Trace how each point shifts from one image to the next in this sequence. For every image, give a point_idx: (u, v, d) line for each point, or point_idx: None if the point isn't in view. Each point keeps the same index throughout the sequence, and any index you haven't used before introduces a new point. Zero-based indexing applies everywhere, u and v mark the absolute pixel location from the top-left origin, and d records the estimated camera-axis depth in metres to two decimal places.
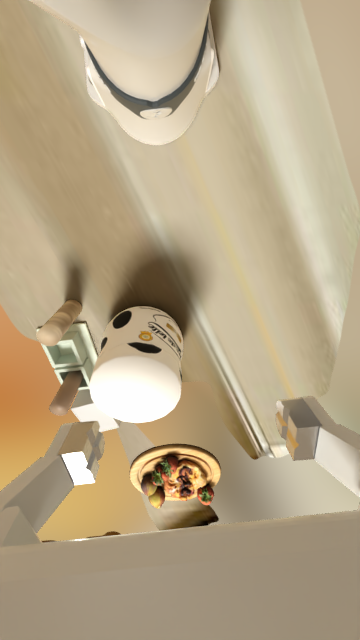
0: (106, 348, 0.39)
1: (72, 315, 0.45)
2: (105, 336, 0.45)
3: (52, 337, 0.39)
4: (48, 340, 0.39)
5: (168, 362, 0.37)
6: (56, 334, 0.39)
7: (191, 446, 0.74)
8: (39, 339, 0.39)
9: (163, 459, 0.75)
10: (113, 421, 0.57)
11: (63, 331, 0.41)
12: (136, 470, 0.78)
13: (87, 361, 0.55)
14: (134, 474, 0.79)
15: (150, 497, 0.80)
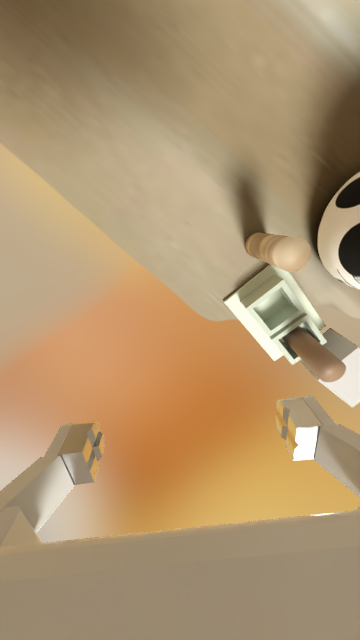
0: None
1: None
2: (347, 229, 0.28)
3: (300, 251, 0.25)
4: (295, 259, 0.25)
5: None
6: (305, 240, 0.25)
7: None
8: (282, 266, 0.26)
9: None
10: None
11: None
12: None
13: None
14: None
15: None
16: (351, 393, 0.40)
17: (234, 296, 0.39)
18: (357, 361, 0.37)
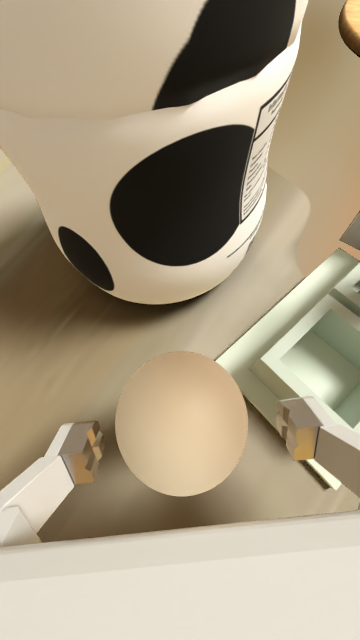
0: (48, 142, 0.08)
1: None
2: (143, 259, 0.13)
3: (165, 391, 0.07)
4: (197, 405, 0.06)
5: None
6: None
7: (353, 45, 0.34)
8: (225, 459, 0.06)
9: None
10: None
11: None
12: None
13: (320, 299, 0.18)
14: None
15: None
16: None
17: (313, 460, 0.15)
18: None
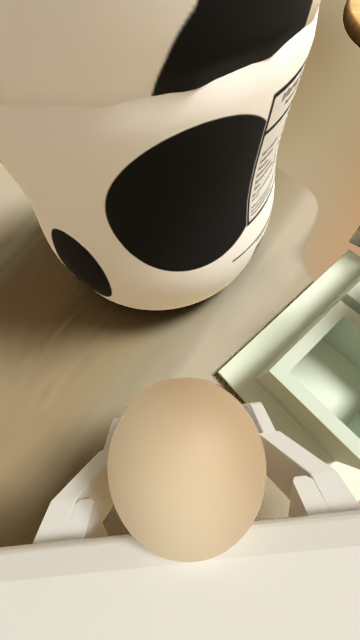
0: (33, 135, 0.07)
1: None
2: (142, 264, 0.12)
3: (166, 426, 0.06)
4: (205, 444, 0.05)
5: None
6: None
7: (358, 38, 0.33)
8: (240, 514, 0.05)
9: None
10: None
11: None
12: None
13: (330, 305, 0.17)
14: None
15: None
16: None
17: None
18: None
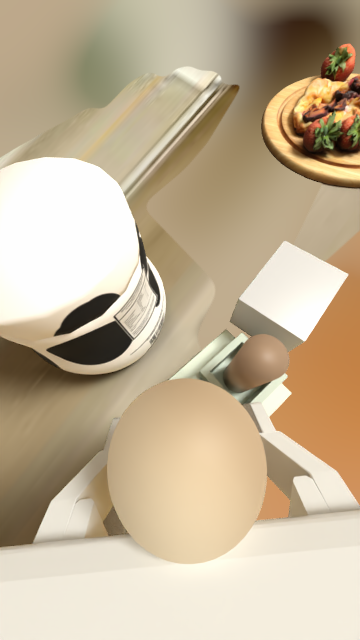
0: (11, 340, 0.18)
1: None
2: (74, 363, 0.23)
3: (166, 427, 0.06)
4: (206, 446, 0.05)
5: None
6: (125, 411, 0.06)
7: (267, 145, 0.44)
8: (240, 516, 0.05)
9: (325, 154, 0.41)
10: (276, 256, 0.27)
11: None
12: None
13: None
14: None
15: None
16: (321, 283, 0.26)
17: None
18: (262, 292, 0.26)
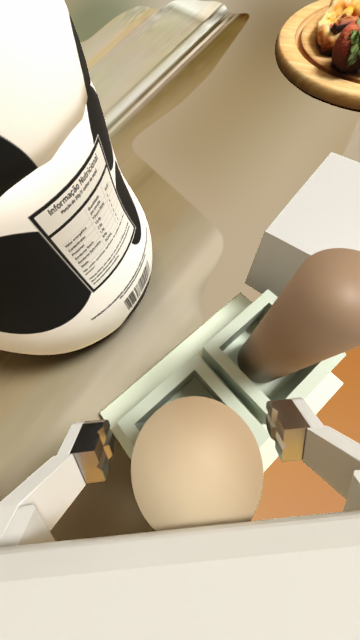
0: None
1: None
2: None
3: (180, 438, 0.07)
4: (213, 453, 0.06)
5: None
6: (144, 424, 0.07)
7: (284, 71, 0.35)
8: (241, 511, 0.06)
9: None
10: (321, 172, 0.18)
11: None
12: None
13: None
14: None
15: None
16: None
17: None
18: (302, 222, 0.16)
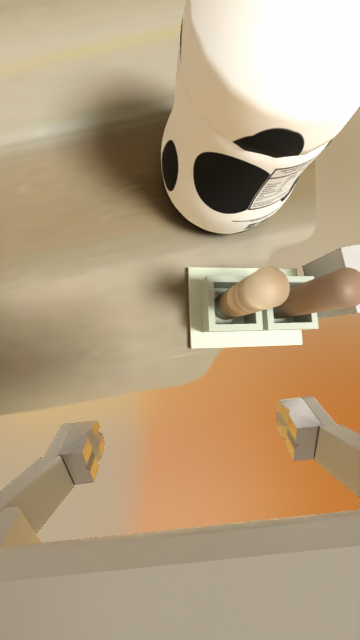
0: (193, 118, 0.19)
1: None
2: (194, 189, 0.25)
3: (270, 277, 0.20)
4: (276, 287, 0.20)
5: None
6: None
7: None
8: (273, 304, 0.20)
9: None
10: None
11: None
12: None
13: None
14: None
15: None
16: None
17: (193, 334, 0.31)
18: None
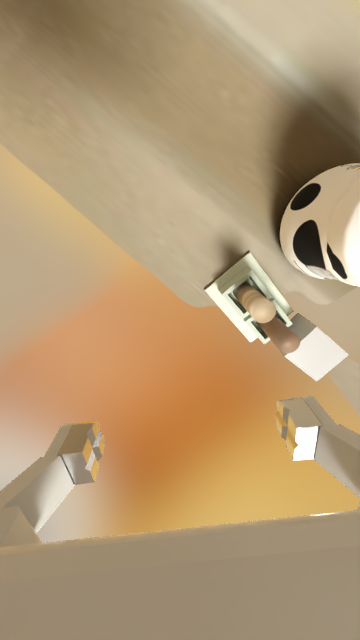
0: (330, 209, 0.29)
1: (256, 290, 0.41)
2: (297, 227, 0.35)
3: (268, 309, 0.35)
4: (265, 315, 0.35)
5: None
6: None
7: None
8: (256, 319, 0.36)
9: None
10: (339, 349, 0.45)
11: None
12: None
13: None
14: None
15: None
16: (314, 368, 0.46)
17: (213, 285, 0.46)
18: (317, 339, 0.44)
